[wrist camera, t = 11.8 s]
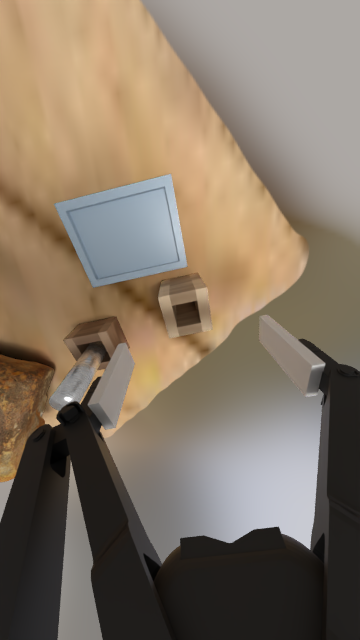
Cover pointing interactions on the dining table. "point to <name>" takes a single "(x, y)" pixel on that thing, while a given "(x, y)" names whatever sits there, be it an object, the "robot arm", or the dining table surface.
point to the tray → (126, 231)
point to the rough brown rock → (20, 408)
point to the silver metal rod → (79, 376)
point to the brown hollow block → (96, 338)
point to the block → (185, 305)
